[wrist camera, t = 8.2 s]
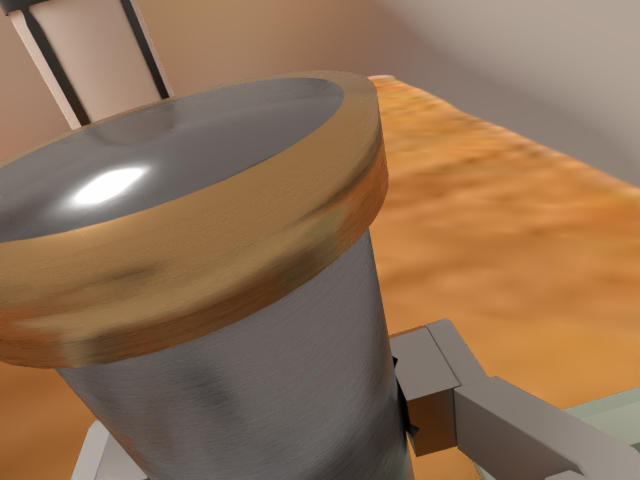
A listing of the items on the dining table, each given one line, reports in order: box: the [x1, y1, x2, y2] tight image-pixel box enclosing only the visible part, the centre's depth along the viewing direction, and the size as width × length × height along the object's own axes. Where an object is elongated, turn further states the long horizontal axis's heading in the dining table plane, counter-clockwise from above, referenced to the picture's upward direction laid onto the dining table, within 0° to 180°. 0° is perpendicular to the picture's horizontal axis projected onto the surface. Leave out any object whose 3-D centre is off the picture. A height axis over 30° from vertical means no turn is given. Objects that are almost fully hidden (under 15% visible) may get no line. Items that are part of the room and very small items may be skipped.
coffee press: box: [0, 0, 174, 130], centre depth 45 cm, size 17×16×30 cm
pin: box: [0, 70, 415, 480], centre depth 8 cm, size 5×5×14 cm
